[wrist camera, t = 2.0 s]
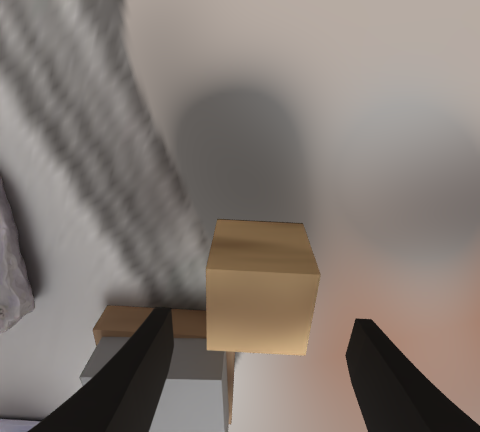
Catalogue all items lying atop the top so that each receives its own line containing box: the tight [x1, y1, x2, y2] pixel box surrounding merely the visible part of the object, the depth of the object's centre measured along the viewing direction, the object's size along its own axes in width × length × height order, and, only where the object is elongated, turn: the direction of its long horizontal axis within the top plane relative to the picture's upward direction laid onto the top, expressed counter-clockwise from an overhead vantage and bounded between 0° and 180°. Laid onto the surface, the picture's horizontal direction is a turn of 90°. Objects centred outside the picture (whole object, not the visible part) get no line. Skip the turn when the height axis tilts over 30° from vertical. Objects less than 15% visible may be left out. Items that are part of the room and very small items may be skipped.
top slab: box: [80, 337, 229, 432], centre depth 17 cm, size 7×7×2 cm
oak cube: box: [206, 219, 320, 356], centre depth 15 cm, size 4×4×4 cm
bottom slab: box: [93, 305, 235, 424], centre depth 20 cm, size 8×8×2 cm
